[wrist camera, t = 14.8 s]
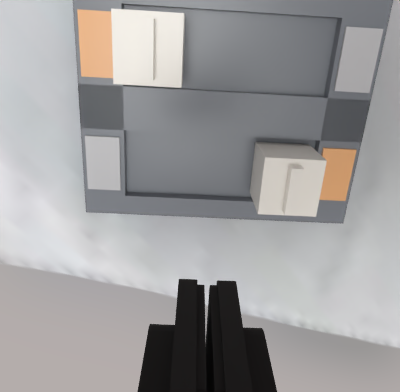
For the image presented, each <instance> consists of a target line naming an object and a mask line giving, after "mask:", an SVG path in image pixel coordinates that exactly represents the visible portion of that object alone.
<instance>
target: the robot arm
mask: <svg viewBox="0 0 400 392" xmlns="http://www.w3.org/2000/svg"><path fill="white" fill-rule="evenodd" d="M138 392H277V390H276V385H275V380H274V376H273V371H272V367H271V362H270V358H269V353H268V348H267V344H266V339H265V335H264V331H263V329H262V328H243V325H242V318H241V312H240V305H239V298H238V292H237V285H236V281H217V285H210V290H209V304H208V318H207V334H206V347H205V294H204V285H197V280H192V279H179V285H178V297H177V309H176V320H175V325H159V324H150V326H149V330H148V335H147V341H146V347H145V353H144V358H143V364H142V370H141V376H140V381H139V387H138Z"/></svg>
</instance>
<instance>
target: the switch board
mask: <svg viewBox="0 0 400 392" xmlns="http://www.w3.org/2000/svg"><path fill="white" fill-rule="evenodd" d="M392 3H393V0H73V12H74V28H75V44H76V60H77V75H78V91H79V107H80V123H81V139H82V155H83V171H84V186H85V202H86V212H95V213H117V214H140V215H162V216H185V217H207V218H230V219H253V220H275V221H298V222H320V223H343V222H344V217H345V213H346V208H347V204H348V199H349V195H350V190H351V186H352V181H353V177H354V173H355V168H356V164H357V159H358V155H359V150H360V146H361V141H362V137H363V132H364V128H365V124H366V119H367V115H368V110H369V106H370V101H371V97H372V92H373V88H374V83H375V79H376V75H377V70H378V66H379V61H380V57H381V52H382V48H383V43H384V39H385V34H386V30H387V26H388V21H389V17H390V12H391V8H392ZM111 8H112V9H128V10H143V11H159V12H174V13H184V14H185V41H184V67H183V83H182V87H181V88H175V87H157V86H140V85H122V84H113V56H112V21H111ZM255 142H270V143H290V144H309V145H310V146H311V147H313V148H314V149H315V150H316V151H317V152H318V153H319V154H320V155H321V156H322V157H323V158H325V159H326V160H327V162H326V168H325V173H324V178H323V183H322V188H321V194H320V199H319V204H318V209H317V214H316V217H310V216H287V215H265V214H258V213H257V211H256V208H255V205H254V202H253V200H252V197H251V194H250V185H251V176H252V168H253V159H254V150H255Z"/></svg>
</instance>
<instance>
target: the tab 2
mask: <svg viewBox="0 0 400 392" xmlns="http://www.w3.org/2000/svg"><path fill="white" fill-rule="evenodd" d="M326 162H327V160H326V159H325V158H323V157H322V156H321V155H320V154H319V153H318V152H317V151H316V150H315V149H314V148H313V147H311V146H310V145H309V144H290V143H270V142H255V150H254V159H253V168H252V176H251V185H250V194H251V197H252V200H253V202H254V205H255V208H256V211H257V213H258V214H265V215H287V216H310V217H316V214H317V209H318V204H319V199H320V194H321V188H322V183H323V178H324V173H325V168H326Z"/></svg>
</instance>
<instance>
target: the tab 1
mask: <svg viewBox="0 0 400 392" xmlns="http://www.w3.org/2000/svg"><path fill="white" fill-rule="evenodd" d="M111 21H112V56H113V84H122V85H140V86H157V87H175V88H181V87H182V83H183V67H184V41H185V14H184V13H174V12H159V11H143V10H128V9H112V8H111Z"/></svg>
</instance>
